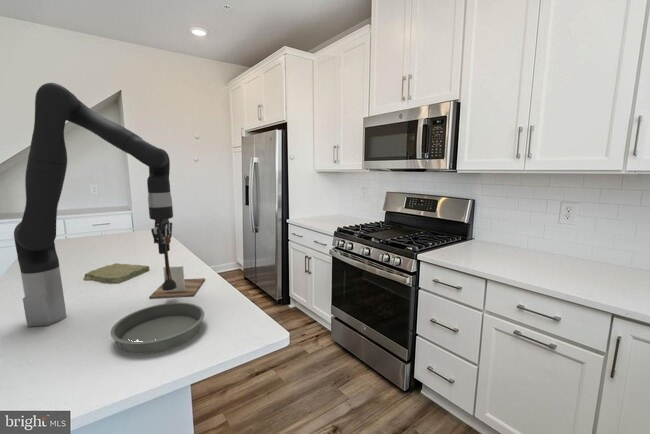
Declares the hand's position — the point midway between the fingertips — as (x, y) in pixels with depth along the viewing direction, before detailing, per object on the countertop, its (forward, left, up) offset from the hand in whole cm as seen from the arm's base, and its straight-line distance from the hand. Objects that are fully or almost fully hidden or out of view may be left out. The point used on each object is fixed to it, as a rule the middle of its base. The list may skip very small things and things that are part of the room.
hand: (164, 252), depth 115 cm
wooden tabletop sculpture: (0, 0, -14) cm, 14 cm away
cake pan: (-24, -6, -19) cm, 31 cm away
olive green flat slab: (+33, +34, -19) cm, 51 cm away
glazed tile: (+7, 0, -13) cm, 15 cm away
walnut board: (+12, 0, -19) cm, 22 cm away
